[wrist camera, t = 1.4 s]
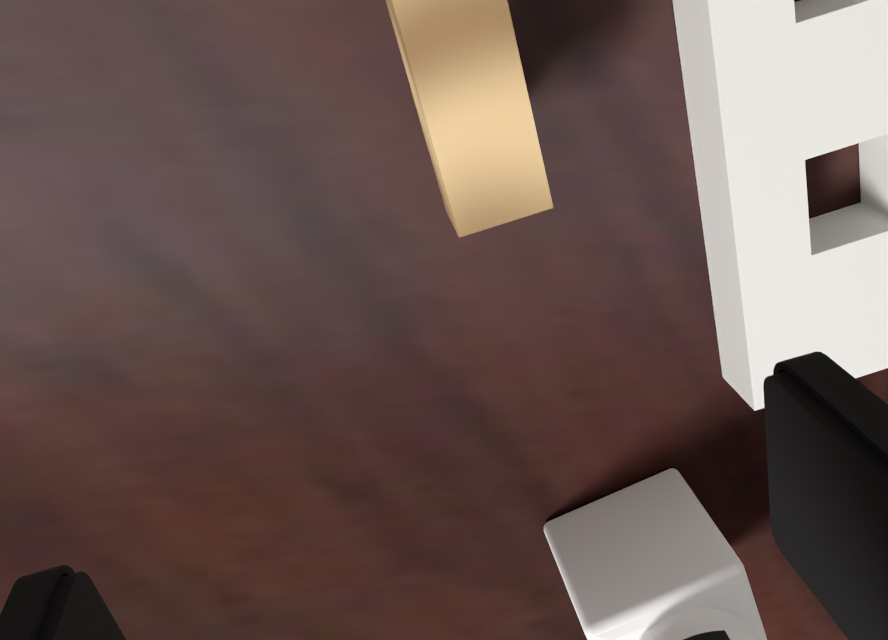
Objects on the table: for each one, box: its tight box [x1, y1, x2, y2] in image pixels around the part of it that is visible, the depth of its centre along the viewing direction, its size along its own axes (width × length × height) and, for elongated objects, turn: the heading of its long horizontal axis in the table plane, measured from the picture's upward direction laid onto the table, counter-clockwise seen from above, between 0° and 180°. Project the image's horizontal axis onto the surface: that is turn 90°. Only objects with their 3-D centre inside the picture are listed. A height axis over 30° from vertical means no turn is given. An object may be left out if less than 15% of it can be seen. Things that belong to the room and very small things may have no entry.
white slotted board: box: [673, 0, 888, 411], centre depth 31 cm, size 26×10×3 cm, turn 15°
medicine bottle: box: [544, 468, 767, 640], centre depth 36 cm, size 7×7×12 cm
